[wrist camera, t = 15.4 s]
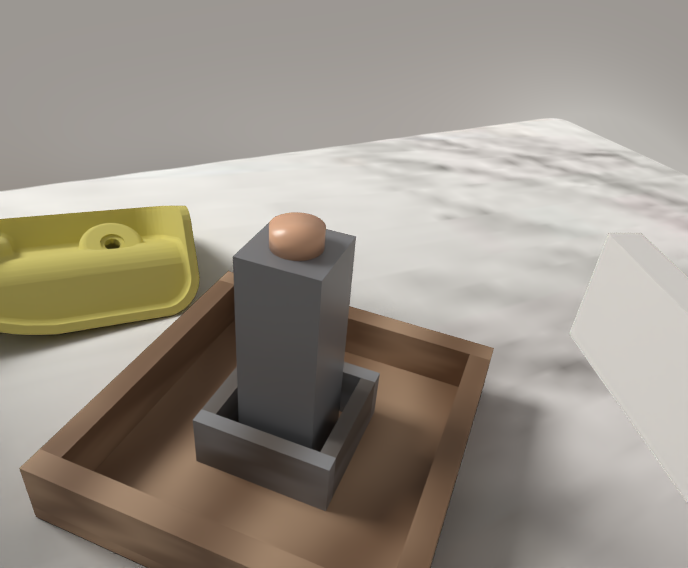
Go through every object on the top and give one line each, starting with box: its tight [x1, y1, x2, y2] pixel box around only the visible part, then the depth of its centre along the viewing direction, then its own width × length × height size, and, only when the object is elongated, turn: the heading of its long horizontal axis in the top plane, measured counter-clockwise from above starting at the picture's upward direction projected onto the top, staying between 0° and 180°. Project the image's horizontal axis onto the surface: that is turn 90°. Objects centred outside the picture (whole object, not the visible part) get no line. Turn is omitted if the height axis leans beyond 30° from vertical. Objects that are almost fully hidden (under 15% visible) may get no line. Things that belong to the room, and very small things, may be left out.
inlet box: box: [19, 271, 494, 568], centre depth 33 cm, size 18×18×4 cm
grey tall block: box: [233, 213, 356, 452], centre depth 29 cm, size 4×4×13 cm
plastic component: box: [0, 206, 200, 335], centre depth 42 cm, size 20×7×10 cm
